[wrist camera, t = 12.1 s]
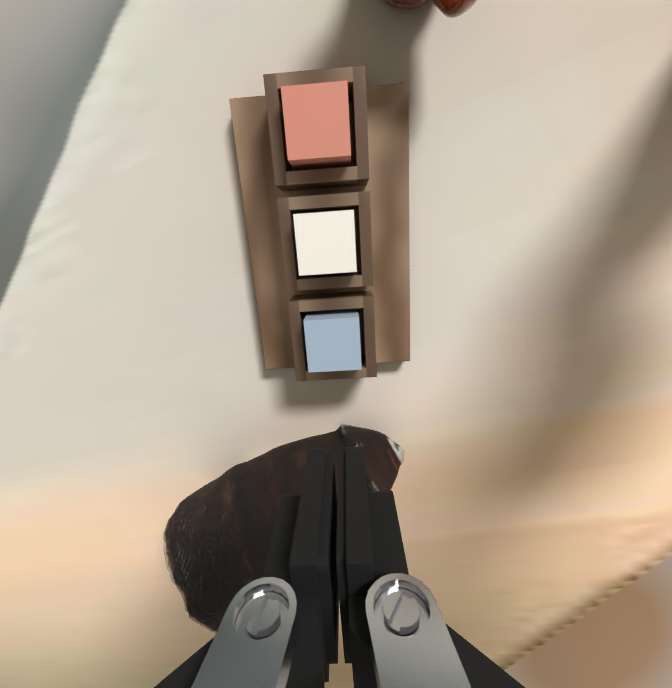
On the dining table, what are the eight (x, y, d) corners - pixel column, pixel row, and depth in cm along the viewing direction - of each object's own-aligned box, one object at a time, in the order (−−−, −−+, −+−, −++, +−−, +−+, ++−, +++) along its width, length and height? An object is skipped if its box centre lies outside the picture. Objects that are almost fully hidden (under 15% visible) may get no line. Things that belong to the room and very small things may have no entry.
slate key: (357, 308, 35) (359, 317, 31) (359, 355, 36) (361, 369, 32) (307, 311, 35) (303, 320, 31) (312, 358, 36) (308, 372, 33)
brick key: (346, 100, 30) (347, 80, 26) (350, 165, 31) (351, 155, 27) (288, 106, 30) (280, 86, 26) (294, 170, 31) (287, 160, 27)
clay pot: (458, 537, 33) (230, 680, 32) (411, 466, 48) (256, 562, 47) (379, 407, 31) (138, 555, 31) (356, 376, 46) (195, 475, 46)
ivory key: (352, 213, 32) (353, 209, 28) (355, 268, 34) (356, 271, 30) (299, 217, 32) (293, 214, 28) (304, 271, 34) (299, 275, 30)
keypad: (404, 92, 32) (417, 60, 27) (406, 355, 40) (417, 374, 34) (235, 106, 33) (212, 79, 27) (269, 362, 41) (257, 383, 35)
